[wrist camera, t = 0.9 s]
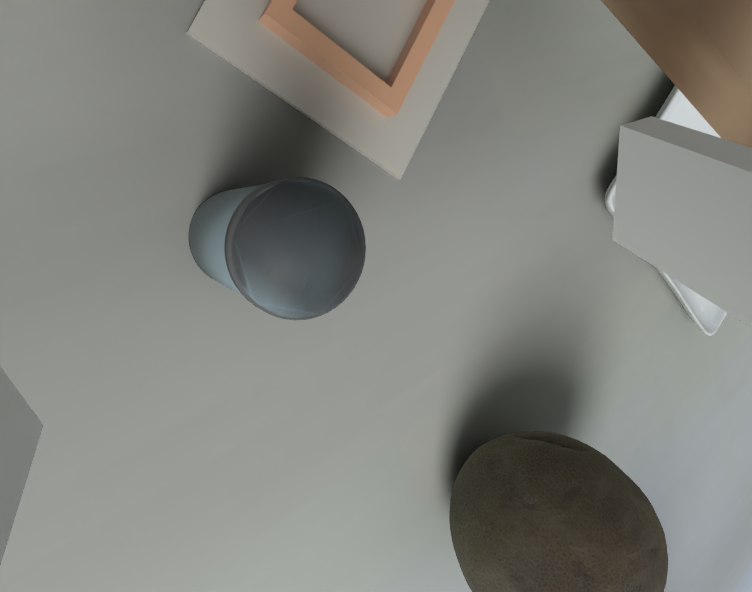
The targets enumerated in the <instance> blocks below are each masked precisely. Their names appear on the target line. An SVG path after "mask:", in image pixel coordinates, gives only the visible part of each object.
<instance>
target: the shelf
mask: <svg viewBox="0 0 752 592" xmlns="http://www.w3.org/2000/svg"><path fill="white" fill-rule="evenodd" d="M601 1H602V2H603V3H604V4H605V5H606V7H607V8H608V9H609V10H610V11H611V12H612V13H613V15H614V16H615V17H616V18H617V19H618V20H619V21H620V23H621V24H622V25H623V26H624V27H625V28H626V29H627V31H628V32H629V33H630V34H631V35H632V36H633V37H634V39H635V40H636V41H637V42H638V43H639V44H640V46H641V47H642V48H643V49H644V50H645V51H646V52H647V54H648V55H649V56H650V57H651V58H652V59H653V60H654V62H655V63H656V64H657V65H658V66H659V67H660V68H661V70H662V71H663V72H664V73H665V74H666V75H667V76H668V78H669V79H670V80H671V81H672V82H673V83H674V84H675V86H676V87H677V88H678V89H679V90H680V91H681V93H682V94H683V95H684V96H685V97H686V98H687V99H688V101H689V102H690V103H691V104H692V105H693V106H694V107H695V109H696V110H697V111H698V112H699V113H700V114H701V115H702V117H703V118H704V119H705V120H706V121H707V122H708V123H709V125H710V126H711V127H712V128H713V129H714V130H715V131H716V133H717V134H718V135H719V136H720V137H721V138H722V139H726V140H729V141H732V142H735V143H738V144H741V145H745V146H748V147H751V148H752V0H601Z"/></svg>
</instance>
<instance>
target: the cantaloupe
mask: <svg viewBox="0 0 752 592" xmlns="http://www.w3.org/2000/svg"><path fill="white" fill-rule="evenodd" d="M450 530H451V536H452V542H453V546H454V550H455V553H456V556H457V559H458V562H459V564H460V567H461V570H462V572H463V575H464V577H465V579H466V581H467V583H468V585H469V587H470V589H471V590H472V592H664V588H665V585H666V579H667V571H668V555H667V545H666V540H665V534H664V531H663V528H662V526H661V523H660V521H659V519H658V517H657V515H656V513H655V511H654V509H653V507H652V505H651V503H650V502H649V500H648V498H647V497H646V496H645V494H644V493H643V492H642V491H641V489H640V488H639V487H638V486H637V485H636V484H635V483H634V482H633V481H632V480H631V479H630V478H629V477H628V476H627V475H626V474H625V473H624V472H623V471H622V470H621V469H619V468H618V467H617V466H616V465H615V464H614V463H613V462H612V461H611V460H610V459H608V458H607V457H606V456H605V455H603V454H602V453H600V452H599V451H597V450H595V449H594V448H592V447H590V446H589V445H587V444H585V443H583V442H580V441H578V440H576V439H573V438H571V437H568V436H564V435H560V434H555V433H550V432H536V431H533V432H517V433H510V434H505V435H502V436H500V437H497V438H495V439H493V440H491V441H489V442H487V443H485V444H483V445H481V446H480V447H478V448H477V449H476V450H475V451H474V452H473V453H472V454H471V455H470V456H469V458H468V459H467V460H466V462H465V463H464V464H463V466H462V468H461V470H460V471H459V474H458V476H457V478H456V480H455V483H454V487H453V491H452V496H451V503H450Z"/></svg>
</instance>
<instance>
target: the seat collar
mask: <svg viewBox="0 0 752 592" xmlns="http://www.w3.org/2000/svg"><path fill="white" fill-rule="evenodd" d="M489 1H490V0H205V1H204V3H203V5H202V6H201V8H200V10H199V12H198V14H197V15H196V17H195V19H194V21H193V23H192V25H191V26H190V28H189V30H188V32H187V34H188V35H190V36H191V37H193V38H194V39H196V40H197V41H198V42H200V43H201V44H203V45H204V46H206V47H207V48H209V49H210V50H211V51H213V52H214V53H216V54H217V55H219V56H220V57H222V58H223V59H224V60H226V61H227V62H229V63H230V64H232V65H233V66H235V67H236V68H237V69H239V70H240V71H242V72H243V73H245V74H246V75H248V76H249V77H250V78H252V79H253V80H255V81H256V82H258V83H259V84H261V85H262V86H263V87H265V88H266V89H268V90H269V91H271V92H272V93H274V94H275V95H276V96H278V97H279V98H281V99H282V100H284V101H285V102H287V103H288V104H290V105H291V106H292V107H294V108H295V109H297V110H298V111H300V112H301V113H303V114H304V115H305V116H307V117H308V118H310V119H311V120H313V121H314V122H316V123H317V124H318V125H320V126H321V127H323V128H324V129H326V130H327V131H329V132H330V133H331V134H333V135H334V136H336V137H337V138H339V139H340V140H342V141H343V142H344V143H346V144H347V145H349V146H350V147H352V148H353V149H355V150H356V151H357V152H359V153H360V154H362V155H363V156H365V157H366V158H368V159H369V160H370V161H372V162H373V163H375V164H376V165H378V166H379V167H381V168H382V169H383V170H385V171H386V172H388V173H389V174H391V175H392V176H394V177H395V178H396V179H398V180H399V179H401V178H402V176H403V174H404V172H405V170H406V168H407V166H408V164H409V162H410V160H411V158H412V156H413V154H414V152H415V150H416V148H417V146H418V144H419V142H420V140H421V138H422V136H423V134H424V132H425V130H426V128H427V126H428V124H429V122H430V120H431V118H432V116H433V114H434V112H435V110H436V108H437V106H438V104H439V102H440V100H441V98H442V96H443V94H444V92H445V90H446V88H447V86H448V84H449V82H450V80H451V78H452V76H453V74H454V72H455V70H456V68H457V66H458V64H459V62H460V60H461V58H462V56H463V54H464V52H465V50H466V48H467V46H468V44H469V42H470V40H471V38H472V36H473V34H474V32H475V30H476V28H477V26H478V24H479V21H480V19H481V17H482V15H483V13H484V11H485V9H486V7H487V5H488V3H489Z"/></svg>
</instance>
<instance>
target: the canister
mask: <svg viewBox="0 0 752 592" xmlns="http://www.w3.org/2000/svg"><path fill="white" fill-rule="evenodd" d="M189 246H190V250H191V253H192V256H193V258H194V260H195V262H196V263H197V265H198V266H199V267H200V269H201V270H202V271H203V272H204V273H205V274H207V275H208V276H209V277H211V278H212V279H214V280H216V281H218V282H219V283H221V284H223V285H224V286H226V287H228V288H230V289H231V290H233V291H235V292H237V293H238V294H240V295H242V296H244V297H245V298H246V299H247V300H248V301H249V302H251V303H252V304H253V305H255V306H256V307H258V308H260V309H261V310H263V311H265V312H267V313H268V314H271V315H273V316H276V317H279V318H283V319H289V320H305V319H311V318H315V317H318V316H321V315H323V314H325V313H327V312H329V311H331V310H332V309H334V308H336V307H337V306H338V305H339V304H341V303H342V302H343V301H344V300H345V299H346V298H347V297H348V296H349V294H350V293H351V292H352V290H353V289H354V287H355V285H356V284H357V282H358V280H359V277H360V275H361V273H362V269H363V266H364V260H365V250H366V245H365V236H364V230H363V227H362V224H361V221H360V219H359V217H358V214H357V212H356V211H355V209H354V208H353V206H352V205H351V203H350V202H349V201H348V200H347V199H346V198H345V197H344V196H343V195H342V194H341V193H340V192H339V191H337V190H336V189H335V188H333V187H331V186H330V185H328V184H326V183H324V182H321V181H318V180H315V179H311V178H303V177H293V178H285V179H280V180H275V181H272V182H269V183H266V184H263V185H257V186H251V187H245V188H239V189H232V190H227V191H223V192H220V193H217V194H215V195H213V196H211V197H210V198H208V199H207V200H206V201H204V202H203V203H202V204H201V205H200V207H199V208H198V209H197V211H196V212H195V214H194V216H193V218H192V220H191V224H190V228H189Z"/></svg>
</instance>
